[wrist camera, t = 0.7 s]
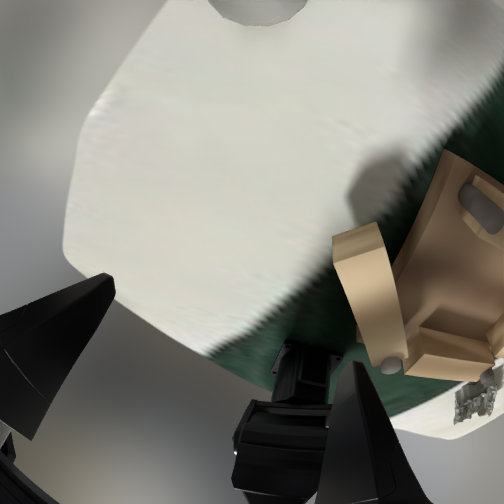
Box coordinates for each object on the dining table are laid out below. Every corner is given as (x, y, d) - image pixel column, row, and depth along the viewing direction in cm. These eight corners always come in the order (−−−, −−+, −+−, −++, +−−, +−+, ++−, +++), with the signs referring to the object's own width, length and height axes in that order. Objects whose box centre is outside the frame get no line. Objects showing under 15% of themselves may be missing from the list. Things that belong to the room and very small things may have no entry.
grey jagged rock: (487, 397, 26) (491, 416, 23) (450, 411, 30) (452, 431, 27) (496, 368, 23) (503, 391, 19) (453, 387, 26) (457, 411, 23)
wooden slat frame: (473, 350, 22) (485, 390, 17) (356, 325, 23) (357, 377, 18) (556, 229, 12) (586, 263, 7) (443, 148, 13) (486, 173, 9)
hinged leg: (404, 335, 20) (410, 368, 17) (372, 343, 21) (374, 377, 18) (376, 221, 15) (386, 252, 12) (332, 236, 17) (333, 269, 14)
